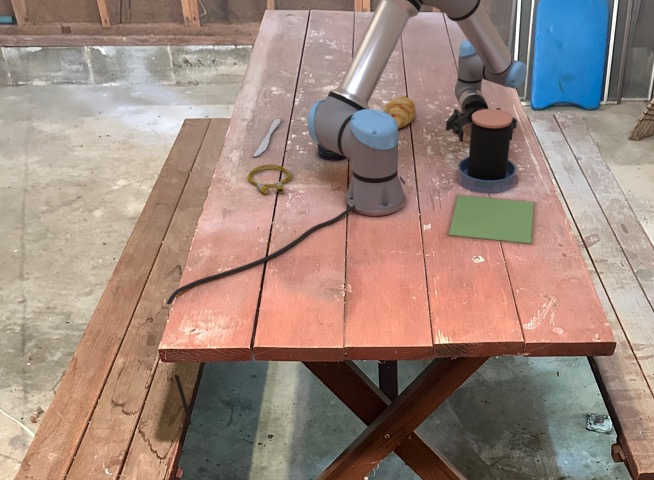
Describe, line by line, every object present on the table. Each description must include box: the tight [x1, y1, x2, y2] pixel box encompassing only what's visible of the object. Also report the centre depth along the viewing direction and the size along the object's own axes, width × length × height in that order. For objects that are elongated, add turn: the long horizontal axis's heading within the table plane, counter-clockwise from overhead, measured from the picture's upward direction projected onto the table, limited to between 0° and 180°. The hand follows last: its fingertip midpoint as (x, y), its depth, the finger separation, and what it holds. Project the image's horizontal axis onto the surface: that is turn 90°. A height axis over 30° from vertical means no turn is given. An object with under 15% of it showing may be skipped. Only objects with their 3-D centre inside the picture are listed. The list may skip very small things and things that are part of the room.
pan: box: [457, 156, 518, 194], centre depth 194 cm, size 16×16×4 cm
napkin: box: [448, 194, 535, 245], centre depth 178 cm, size 20×20×1 cm
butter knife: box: [252, 118, 282, 157], centre depth 216 cm, size 1×27×3 cm
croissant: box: [383, 96, 416, 130], centre depth 226 cm, size 21×10×8 cm, turn 173°
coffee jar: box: [468, 108, 513, 180], centre depth 189 cm, size 11×11×18 cm
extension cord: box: [247, 163, 292, 195], centre depth 194 cm, size 12×16×2 cm
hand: (486, 136), depth 192 cm, fingers open, 13 cm apart
